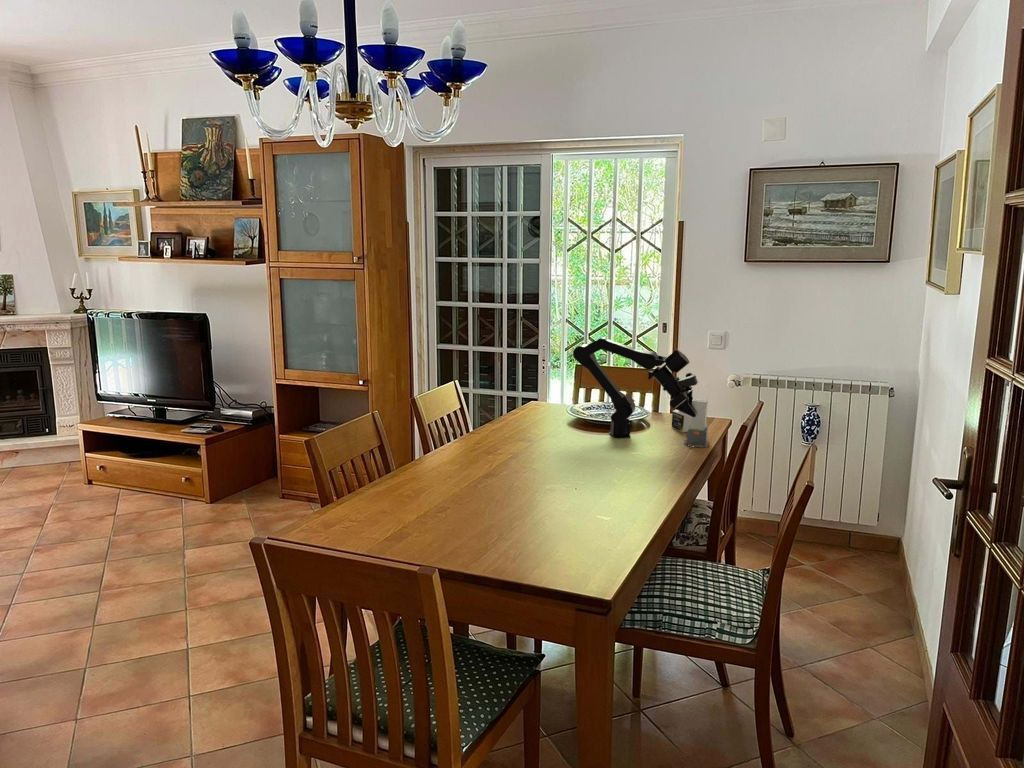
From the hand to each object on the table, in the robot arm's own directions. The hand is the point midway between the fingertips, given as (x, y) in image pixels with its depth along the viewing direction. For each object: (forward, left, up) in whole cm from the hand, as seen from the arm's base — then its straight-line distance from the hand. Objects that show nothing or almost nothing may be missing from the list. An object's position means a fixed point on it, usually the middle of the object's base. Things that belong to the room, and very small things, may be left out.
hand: (696, 413), depth 266 cm
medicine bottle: (+5, +19, -12) cm, 22 cm away
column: (+1, 0, -8) cm, 8 cm away
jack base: (+1, 0, -11) cm, 11 cm away
